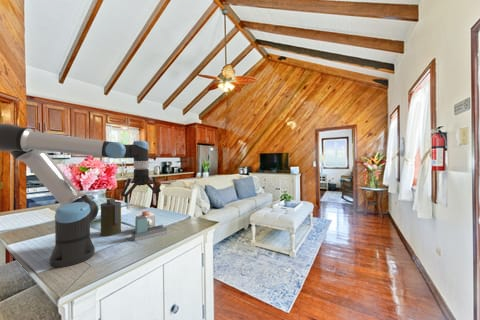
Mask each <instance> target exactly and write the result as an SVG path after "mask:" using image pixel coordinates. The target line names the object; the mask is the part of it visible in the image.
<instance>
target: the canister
mask: <svg viewBox="0 0 480 320" xmlns="http://www.w3.org/2000/svg"><path fill="white" fill-rule="evenodd" d="M99 205H100V233H99V235H100V236H101V237H111V236H115V235H118V234H120V233H121V232H122V201H121V202H120V201H116V199H115V198H107V199H106V202H103V203H101V204H99Z"/></svg>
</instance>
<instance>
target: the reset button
mask: <svg viewBox="0 0 480 320" xmlns="http://www.w3.org/2000/svg"><path fill="white" fill-rule="evenodd" d="M149 213H150V212H149V210H144V211H142V212H141V214H142V216H149Z"/></svg>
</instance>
